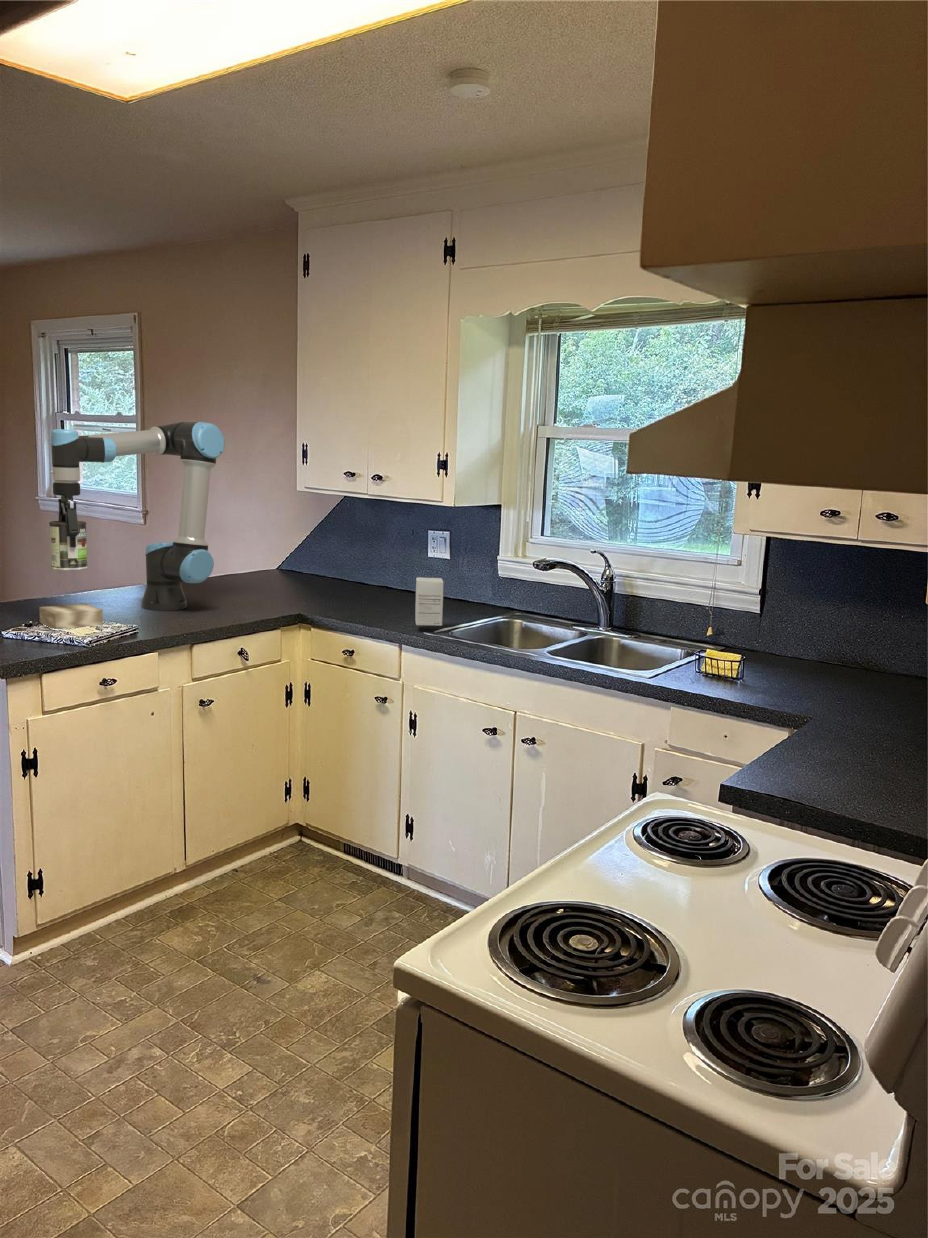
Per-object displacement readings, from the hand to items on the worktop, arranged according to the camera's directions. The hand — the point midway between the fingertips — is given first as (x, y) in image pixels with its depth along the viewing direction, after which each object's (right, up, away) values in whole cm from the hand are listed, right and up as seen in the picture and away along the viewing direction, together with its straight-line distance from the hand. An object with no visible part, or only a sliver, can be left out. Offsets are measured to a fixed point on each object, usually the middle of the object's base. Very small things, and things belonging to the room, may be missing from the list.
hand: (69, 556), depth 283 cm
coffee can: (0, -4, +1) cm, 4 cm away
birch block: (-1, -22, +4) cm, 22 cm away
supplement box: (+108, -21, +32) cm, 114 cm away
